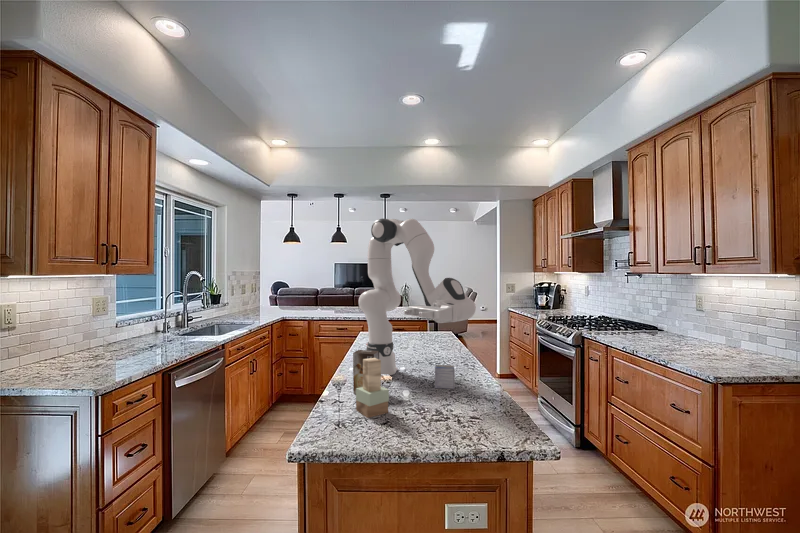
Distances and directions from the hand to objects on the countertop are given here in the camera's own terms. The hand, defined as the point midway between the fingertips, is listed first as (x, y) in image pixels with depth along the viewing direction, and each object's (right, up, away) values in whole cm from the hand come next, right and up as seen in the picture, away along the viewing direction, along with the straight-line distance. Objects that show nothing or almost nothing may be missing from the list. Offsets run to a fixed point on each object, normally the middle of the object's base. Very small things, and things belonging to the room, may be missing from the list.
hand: (412, 313), depth 147 cm
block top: (-14, -28, -11) cm, 33 cm away
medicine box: (+14, -32, +17) cm, 39 cm away
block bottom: (-14, -32, -11) cm, 37 cm away
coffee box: (-18, -32, +10) cm, 38 cm away
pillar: (-14, -24, -11) cm, 30 cm away
